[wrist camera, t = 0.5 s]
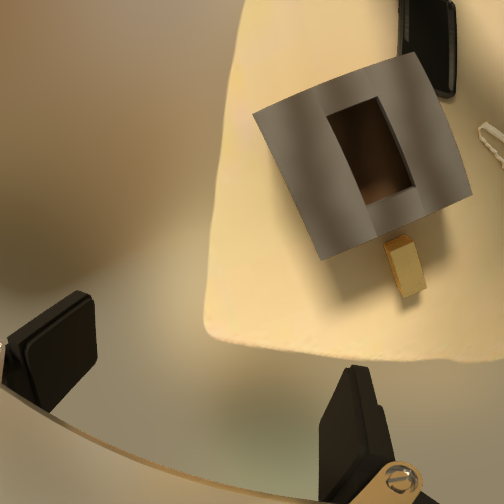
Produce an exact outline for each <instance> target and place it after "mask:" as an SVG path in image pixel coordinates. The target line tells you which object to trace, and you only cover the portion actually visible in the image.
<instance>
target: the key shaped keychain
mask: <svg viewBox="0 0 504 504" xmlns="http://www.w3.org/2000/svg"><path fill="white" fill-rule="evenodd" d="M482 128H484V129H485V130H487V131H488V132H489V133H491V134H492V135H494V136H495V137H497V138H498V139H499V140H501V141H502V142H503V143H504V134H503V133H502V132H501V131H499V130H498V129H496V128H495V127H493V126H492V125H490V124H489V123H487V122H484V123H483V124H482V125H481V126H479V127H478V133H479V140H480V141H482V142H483V143H484V145H485V146H487V147H488V148H489V150H490V151H491V152H493V153H494V155H495V158H496V159H498V160H499V161H501V162H502V168H503V169H504V159H503V158H502V157H500V156H499V155H498V153H497V150H495V149H494V148H492V147H491V145H490V144H489V143H487V142H486V140H485V138H484V137H482V136H481V132H480V129H482Z"/></svg>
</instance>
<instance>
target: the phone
mask: <svg viewBox="0 0 504 504" xmlns="http://www.w3.org/2000/svg"><path fill="white" fill-rule="evenodd" d="M398 13H399V23H398V45H397V57H398V56H401V55H405V54H408V53H411V52H415V54H416V56H417V57H418V59H419V61H420V63H421V65H422V67H423V69H424V71H425V73H426V75H427V77H428V79H429V81H430V83H431V85H432V87H433V89H434V91H435V93H436V95H438V96H440V97H443V98H451V97H453V96H454V95H455V93H456V77H457V24H456V7H455V5H454V3H453V2H452V1H451V0H399V8H398Z"/></svg>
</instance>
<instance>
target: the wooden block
mask: <svg viewBox="0 0 504 504" xmlns="http://www.w3.org/2000/svg"><path fill="white" fill-rule="evenodd" d="M383 245H384V248H385V251H386V254H387V257H388V260H389V263H390V266H391V269H392V272H393V275H394V279H395V282H396V285H397V287H398V289H399V291H400V292H401V294H402V295H403V297H404V298H406V297H408V296H410V295H412V294H415V293H417V292H419V291H421V290H424V289H426V288H427V287H426V283H425V279H424V275H423V271H422V268H421V264H420V261H419V257H418V254H417V250H416V247H415V244H414V241H413V240H411V239H410V238H409V237H408V236H407V235H405V234H404V235H402V236H400V237H397V238H395V239H393V240H391V241H388V242H386V243H384V244H383Z"/></svg>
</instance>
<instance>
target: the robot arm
mask: <svg viewBox="0 0 504 504" xmlns="http://www.w3.org/2000/svg"><path fill="white" fill-rule="evenodd" d="M7 339H8V344H7V345H5V344H4V342H3V341H2V340H1V339H0V504H439V503H437V502H436V501H435V500H433V499H431V498H430V497H429V496H427V495H426V494H424V493H423V492H422V491H421V488H422V486H423V479H422V476H421V474H420V472H419V471H418V470H417V469H416V468H415V467H413V466H412V465H411V464H408V463H406V462H401V461H395V457H394V452H393V448H392V443H391V439H390V435H389V430H388V426H387V422H386V418H385V414H384V410H383V407H382V406H381V405H378V404H377V400H376V396H375V392H374V388H373V384H372V380H371V376H370V372H369V369H368V367H364V366H358V365H351V367H350V368H345V369H344V371H343V374H342V376H341V378H340V380H339V383H338V385H337V387H336V389H335V392H334V393H333V396H332V398H331V400H330V402H329V404H328V406H327V408H326V410H325V412H324V415H323V417H322V418H321V421H320V424H319V496H318V498H319V501H313V500H306V499H298V498H292V497H285V496H279V495H273V494H268V493H263V492H258V491H253V490H248V489H243V488H238V487H234V486H230V485H226V484H222V483H218V482H214V481H210V480H207V479H203V478H200V477H196V476H193V475H189V474H187V473H183V472H180V471H177V470H174V469H171V468H168V467H165V466H162V465H159V464H157V463H154V462H151V461H149V460H146V459H143V458H141V457H138V456H136V455H133V454H131V453H128V452H126V451H124V450H121V449H119V448H117V447H114V446H112V445H110V444H108V443H105V442H103V441H101V440H99V439H97V438H95V437H93V436H91V435H89V434H87V433H85V432H83V431H81V430H79V429H77V428H75V427H73V426H71V425H69V424H67V423H66V422H64V421H62V420H60V419H58V418H57V417H55V416H53V415H51V414H50V412H51V411H52V410H53V409H54V408H55V406H56V405H57V404H58V403H59V402H60V401H61V400H62V399H63V398H64V397H65V396H66V394H67V393H68V392H69V391H70V390H71V389H72V388H73V387H74V386H75V385H76V384H77V383H78V381H79V380H80V379H81V378H82V377H83V376H84V375H85V374H86V373H87V372H88V371H89V370H90V369H91V367H92V366H94V364H95V363H96V361H97V343H96V328H95V304H94V301H93V300H92V297H91V296H90V295H89V294H87V293H84V292H81V291H78V290H77V291H75V292H73V293H72V294H70V295H68V296H67V297H65V298H64V299H62V300H61V301H59V302H58V303H57V304H55V305H53V306H52V307H50V308H49V309H47V310H46V311H44V312H43V313H42V314H40V315H39V316H37V317H36V318H34V319H33V320H31V321H30V322H28V323H27V324H26V325H24V326H23V327H21V328H20V329H18V330H17V331H16V332H14V333H13V334H11V335H10V336H9V337H7Z"/></svg>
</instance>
